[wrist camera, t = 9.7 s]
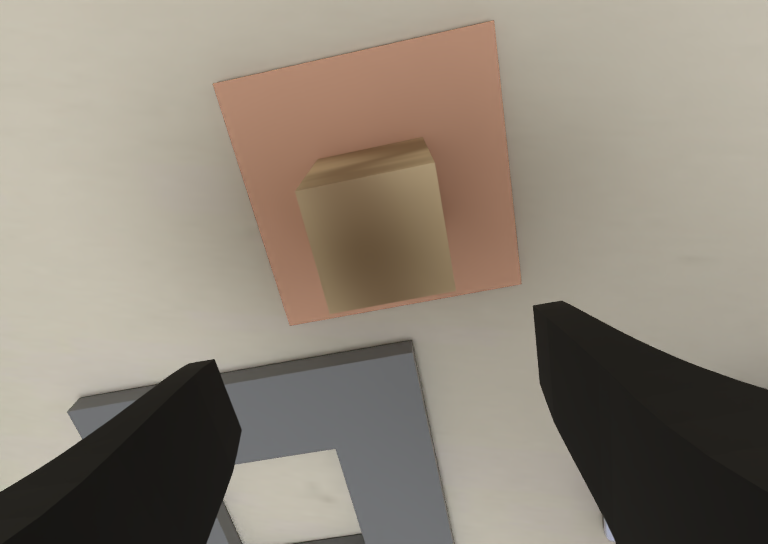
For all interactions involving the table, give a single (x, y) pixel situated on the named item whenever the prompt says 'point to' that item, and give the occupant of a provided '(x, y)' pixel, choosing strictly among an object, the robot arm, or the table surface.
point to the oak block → (377, 226)
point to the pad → (376, 128)
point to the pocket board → (333, 435)
